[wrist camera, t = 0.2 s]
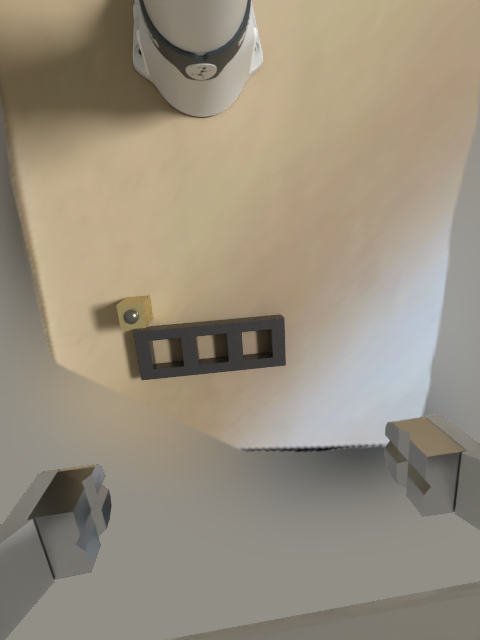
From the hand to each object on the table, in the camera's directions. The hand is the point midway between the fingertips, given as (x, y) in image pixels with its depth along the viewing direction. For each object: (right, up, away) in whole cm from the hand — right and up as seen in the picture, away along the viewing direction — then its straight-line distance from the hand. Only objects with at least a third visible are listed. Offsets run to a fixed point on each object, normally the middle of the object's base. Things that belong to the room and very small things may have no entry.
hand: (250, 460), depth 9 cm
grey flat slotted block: (-5, -1, +49) cm, 49 cm away
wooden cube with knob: (-18, +6, +46) cm, 49 cm away
